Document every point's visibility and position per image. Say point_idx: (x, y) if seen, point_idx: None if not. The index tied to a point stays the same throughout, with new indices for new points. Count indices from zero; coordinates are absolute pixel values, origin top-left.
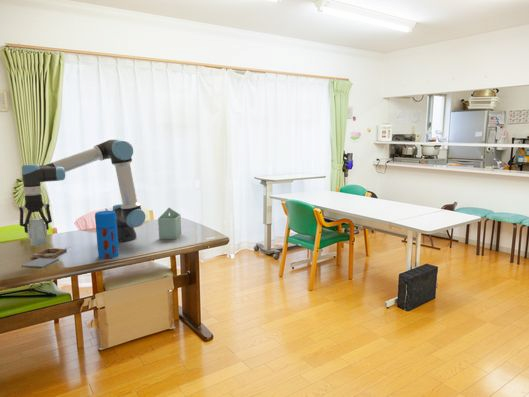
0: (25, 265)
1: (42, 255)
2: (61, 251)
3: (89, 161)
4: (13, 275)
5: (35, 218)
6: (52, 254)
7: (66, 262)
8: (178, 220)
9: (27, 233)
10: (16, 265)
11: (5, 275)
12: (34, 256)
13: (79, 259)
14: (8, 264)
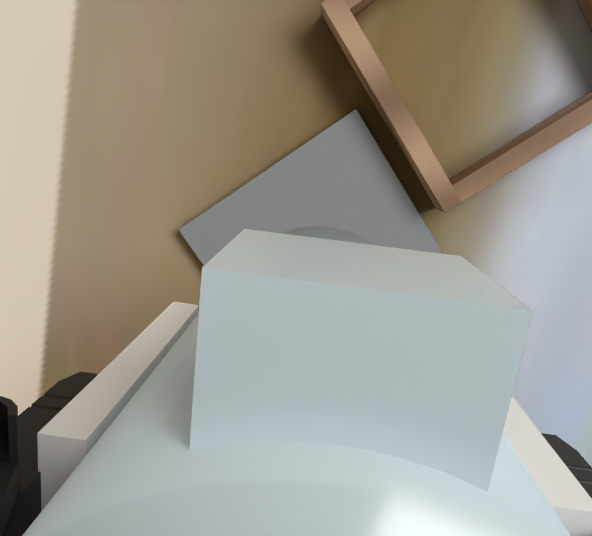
0: (200, 256)
1: (387, 117)
2: (583, 126)
3: None
4: None
5: (396, 500)
6: (465, 182)
7: None
8: None
9: (139, 337)
10: (151, 157)
11: (49, 353)
12: (333, 31)
13: (587, 406)
14: (101, 65)
